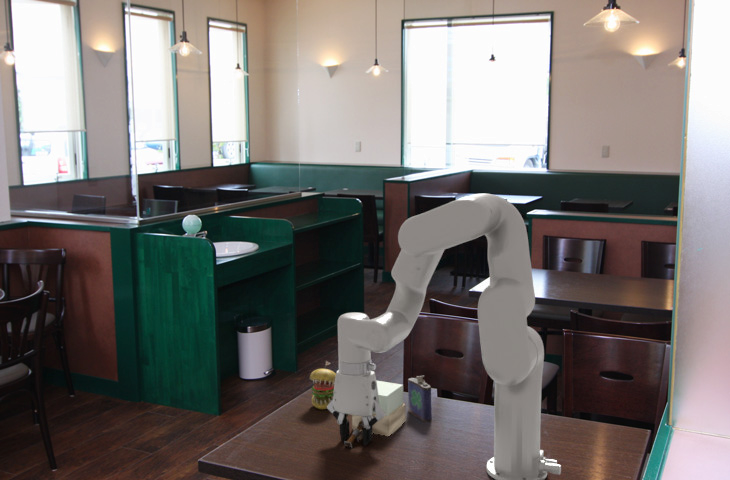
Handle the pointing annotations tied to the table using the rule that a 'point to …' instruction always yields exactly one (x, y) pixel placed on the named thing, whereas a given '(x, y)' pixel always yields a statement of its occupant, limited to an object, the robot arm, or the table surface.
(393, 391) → the top block
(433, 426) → the table surface
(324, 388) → the hamburger
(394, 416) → the bottom block
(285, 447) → the table surface
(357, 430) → the wooden post with brackets
